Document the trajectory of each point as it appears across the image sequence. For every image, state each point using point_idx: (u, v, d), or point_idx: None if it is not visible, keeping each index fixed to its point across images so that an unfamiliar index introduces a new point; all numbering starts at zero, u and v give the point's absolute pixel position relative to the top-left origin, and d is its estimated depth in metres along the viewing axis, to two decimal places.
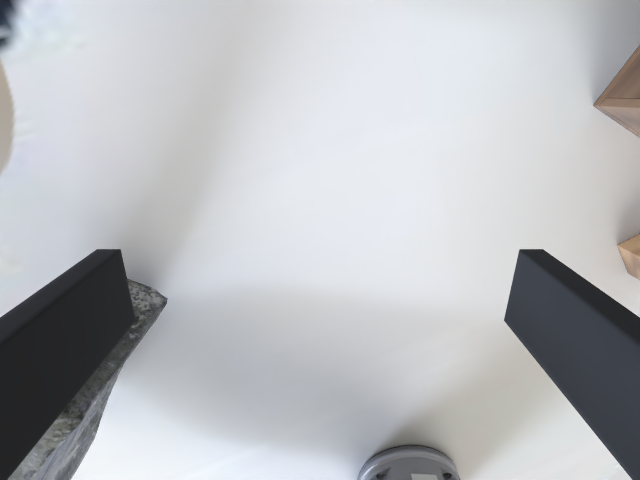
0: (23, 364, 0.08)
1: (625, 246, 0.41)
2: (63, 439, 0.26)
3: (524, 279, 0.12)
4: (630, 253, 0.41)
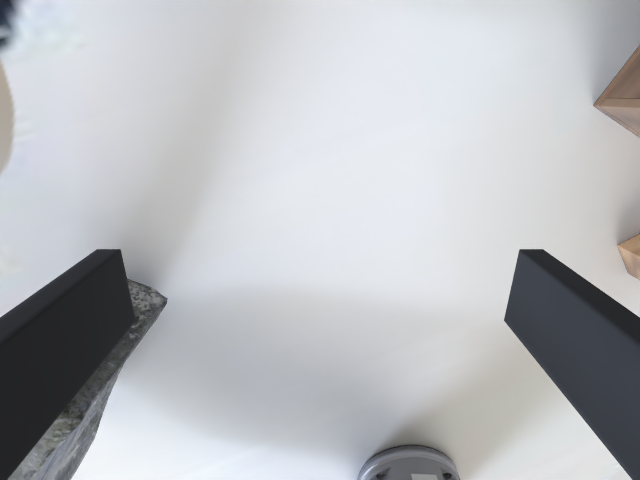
0: (23, 364, 0.08)
1: (625, 246, 0.41)
2: (63, 439, 0.26)
3: (524, 279, 0.12)
4: (630, 253, 0.41)
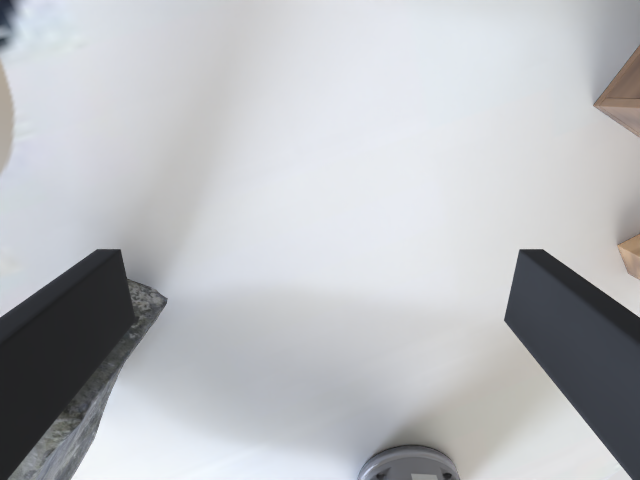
0: (23, 364, 0.08)
1: (625, 246, 0.41)
2: (63, 439, 0.26)
3: (524, 279, 0.12)
4: (630, 253, 0.41)
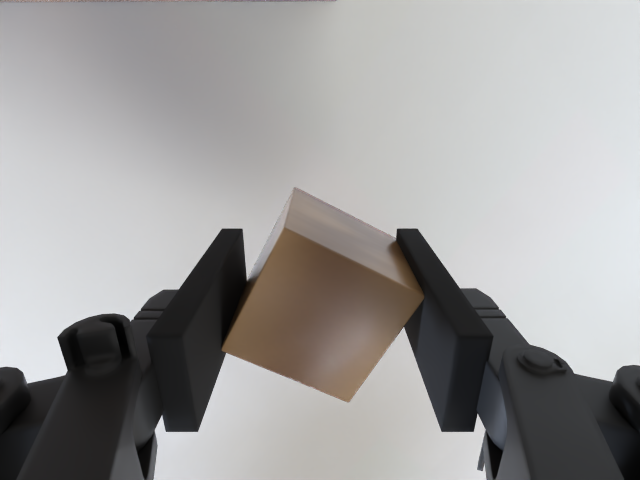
0: (212, 314, 0.10)
1: (247, 281, 0.14)
2: None
3: None
4: None
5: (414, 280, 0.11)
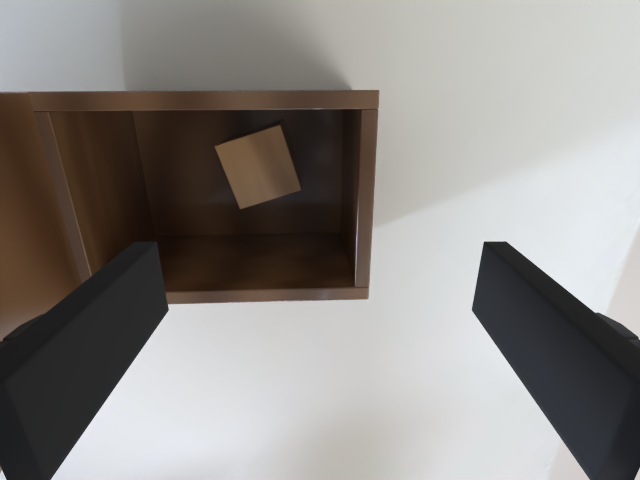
0: (82, 344, 0.09)
1: None
2: None
3: (487, 270, 0.12)
4: None
5: (225, 141, 0.23)
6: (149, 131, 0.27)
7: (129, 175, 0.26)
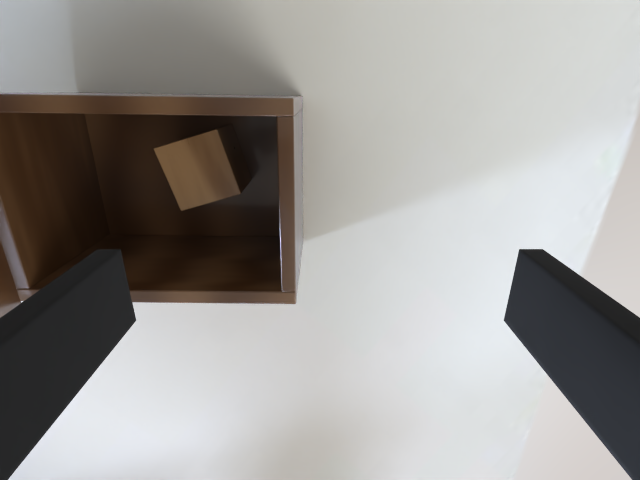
0: (23, 364, 0.08)
1: None
2: None
3: (524, 279, 0.12)
4: None
5: (165, 144, 0.24)
6: (101, 132, 0.27)
7: (78, 174, 0.26)
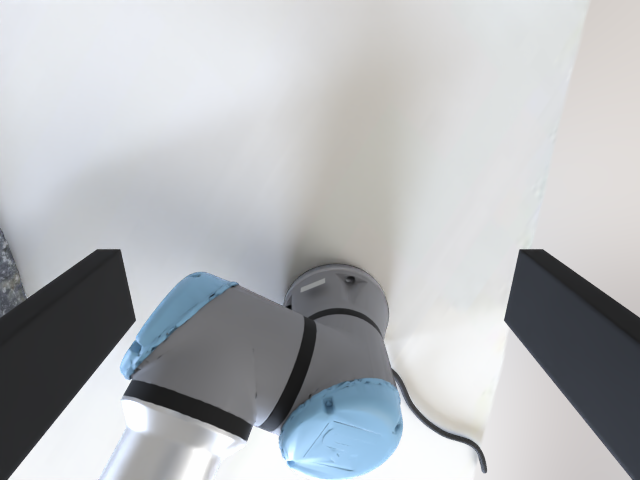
0: (23, 364, 0.08)
1: None
2: None
3: (524, 279, 0.12)
4: None
5: None
6: None
7: None
